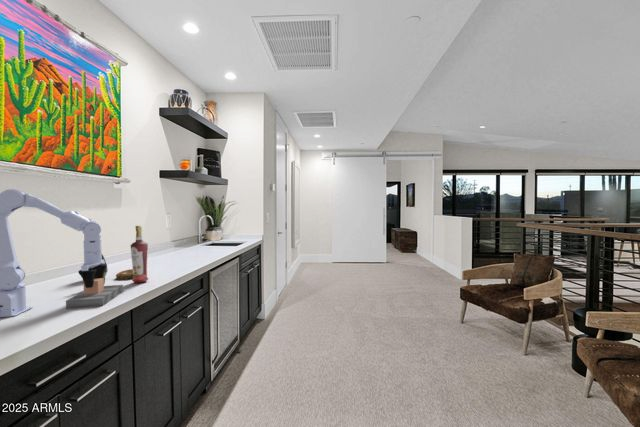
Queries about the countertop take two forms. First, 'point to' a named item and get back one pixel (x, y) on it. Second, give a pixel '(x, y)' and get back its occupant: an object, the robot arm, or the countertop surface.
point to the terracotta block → (95, 287)
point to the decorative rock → (125, 275)
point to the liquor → (139, 257)
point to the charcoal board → (94, 297)
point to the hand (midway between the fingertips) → (94, 285)
